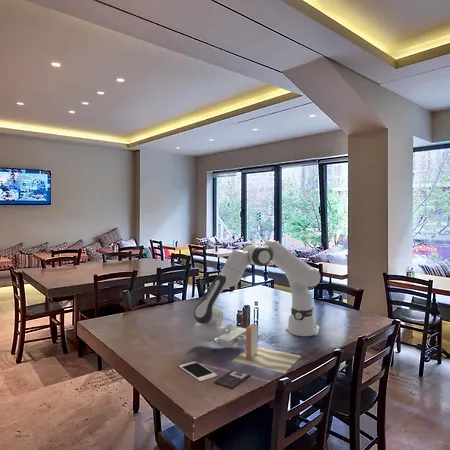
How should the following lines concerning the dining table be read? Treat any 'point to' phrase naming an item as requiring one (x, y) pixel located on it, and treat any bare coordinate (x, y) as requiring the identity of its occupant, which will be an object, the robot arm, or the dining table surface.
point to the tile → (251, 340)
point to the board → (269, 360)
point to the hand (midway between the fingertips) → (247, 339)
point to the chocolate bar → (232, 379)
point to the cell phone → (198, 371)
